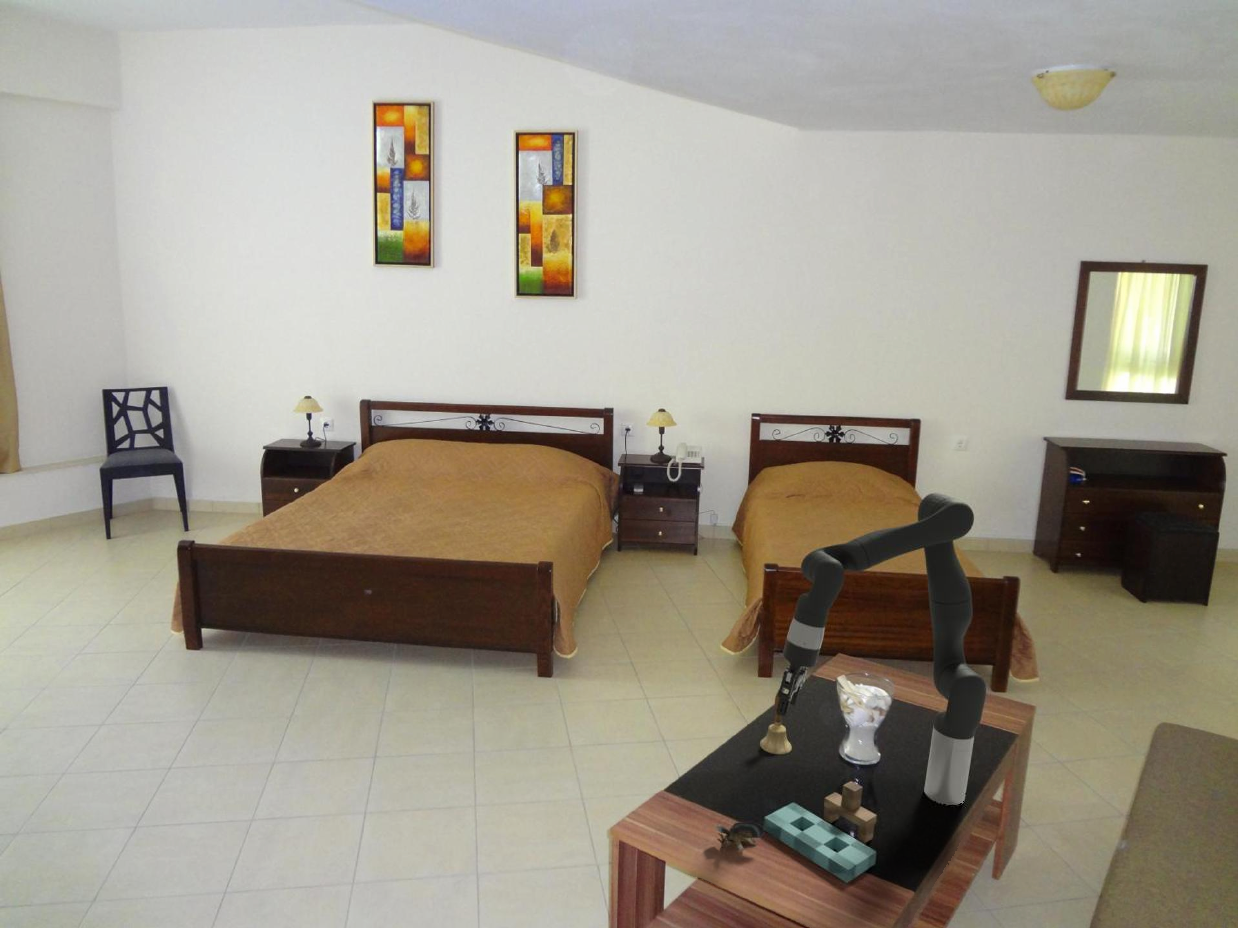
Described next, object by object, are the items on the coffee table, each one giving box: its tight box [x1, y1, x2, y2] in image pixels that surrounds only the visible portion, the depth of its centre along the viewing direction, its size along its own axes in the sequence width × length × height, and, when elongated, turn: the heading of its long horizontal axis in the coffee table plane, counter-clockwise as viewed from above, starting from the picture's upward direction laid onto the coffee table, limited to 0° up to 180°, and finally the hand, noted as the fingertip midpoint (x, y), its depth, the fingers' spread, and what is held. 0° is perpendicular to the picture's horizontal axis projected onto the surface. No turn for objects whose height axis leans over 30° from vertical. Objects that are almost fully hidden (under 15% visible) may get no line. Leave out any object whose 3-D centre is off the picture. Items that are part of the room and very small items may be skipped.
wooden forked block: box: [823, 780, 878, 844], centre depth 197 cm, size 11×4×10 cm, turn 41°
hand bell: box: [759, 688, 793, 755], centre depth 230 cm, size 8×8×16 cm
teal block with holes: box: [762, 801, 877, 884], centre depth 190 cm, size 22×10×3 cm, turn 41°
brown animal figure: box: [715, 821, 766, 855], centre depth 188 cm, size 8×7×9 cm
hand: (786, 708), depth 197 cm, fingers open, 8 cm apart
